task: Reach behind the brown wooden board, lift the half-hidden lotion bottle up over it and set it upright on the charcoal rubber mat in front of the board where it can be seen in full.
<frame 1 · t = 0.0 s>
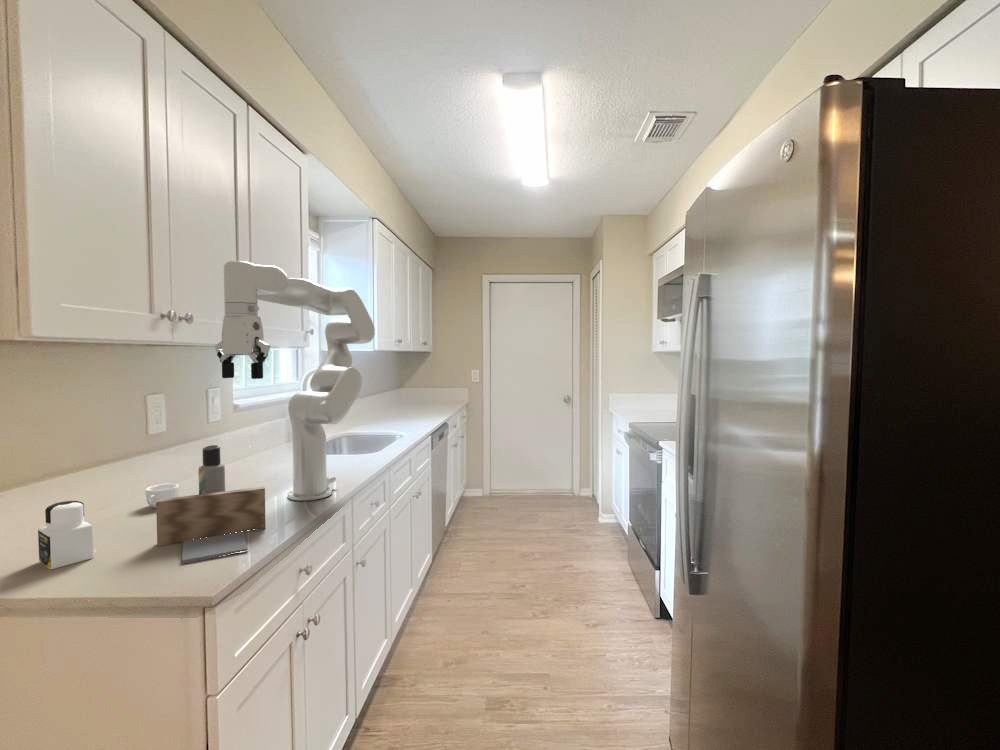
hand: (242, 378, 127), 37 cm above the worktop, tool pointing down, fingers open, 9 cm apart
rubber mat: (215, 548, 110), on the worktop
brown wooden board: (213, 535, 118), on the worktop
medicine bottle: (66, 561, 103), on the worktop
teacup: (160, 507, 139), on the worktop
lotion bottle: (213, 526, 124), on the worktop
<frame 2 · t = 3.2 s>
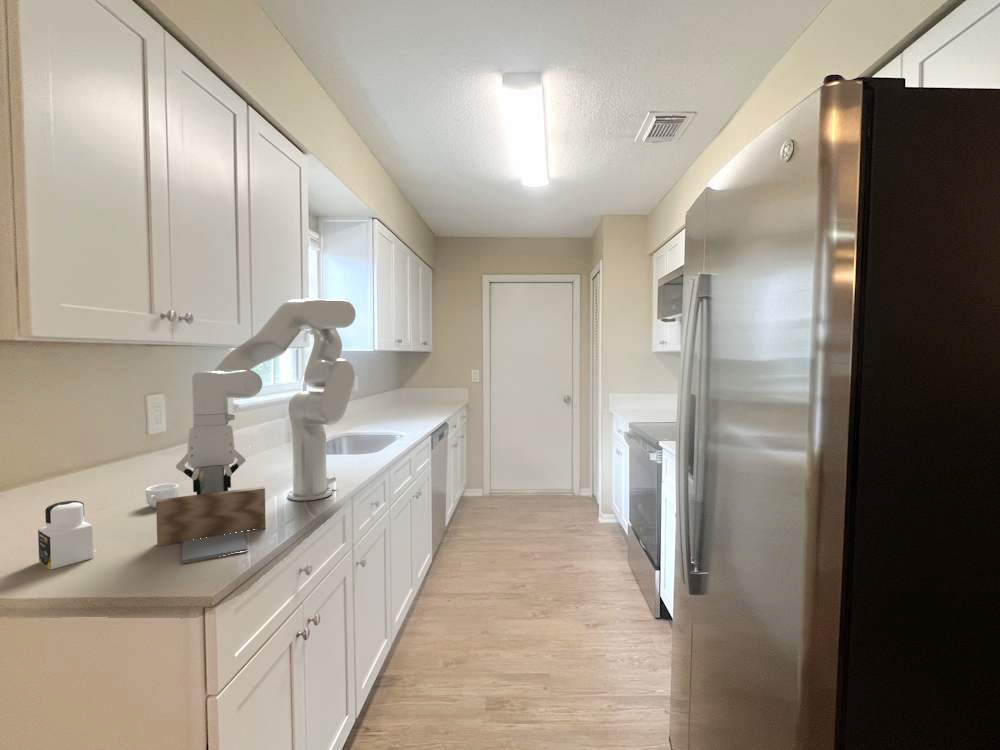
hand: (212, 492, 124), 8 cm above the worktop, tool pointing down, fingers closed on lotion bottle, 5 cm apart
lotion bottle: (213, 526, 124), on the worktop, touching gripper
everything else where it was.
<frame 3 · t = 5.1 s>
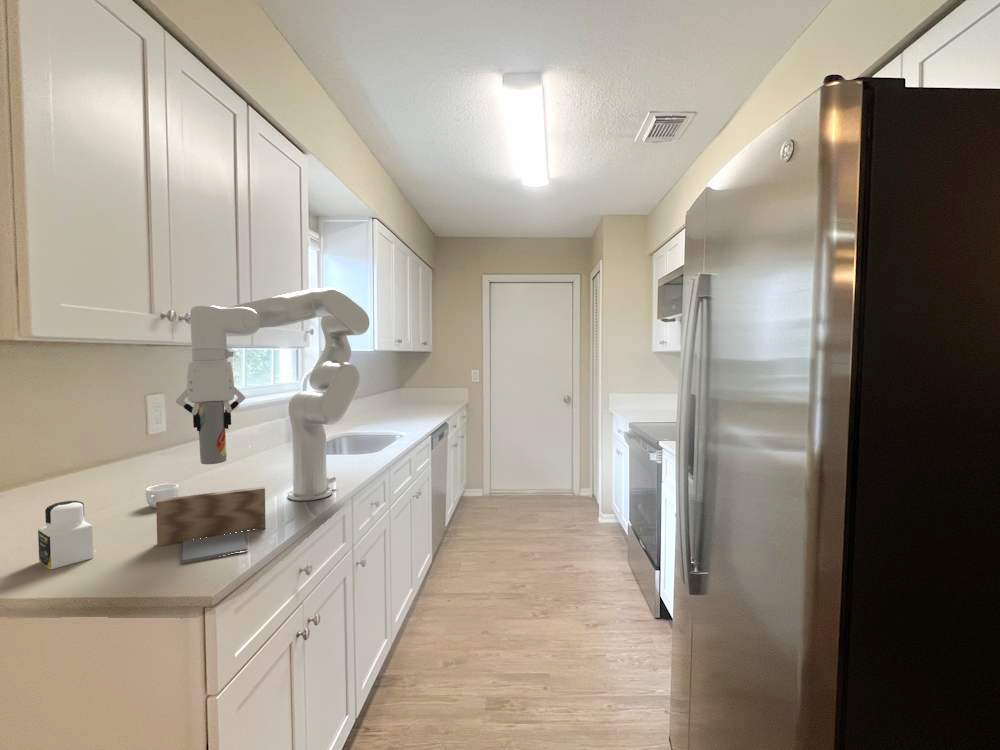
hand: (212, 428, 124), 24 cm above the worktop, tool pointing down, fingers closed on lotion bottle, 5 cm apart
lotion bottle: (213, 462, 124), point 16 cm above the worktop, touching gripper
everything else where it was.
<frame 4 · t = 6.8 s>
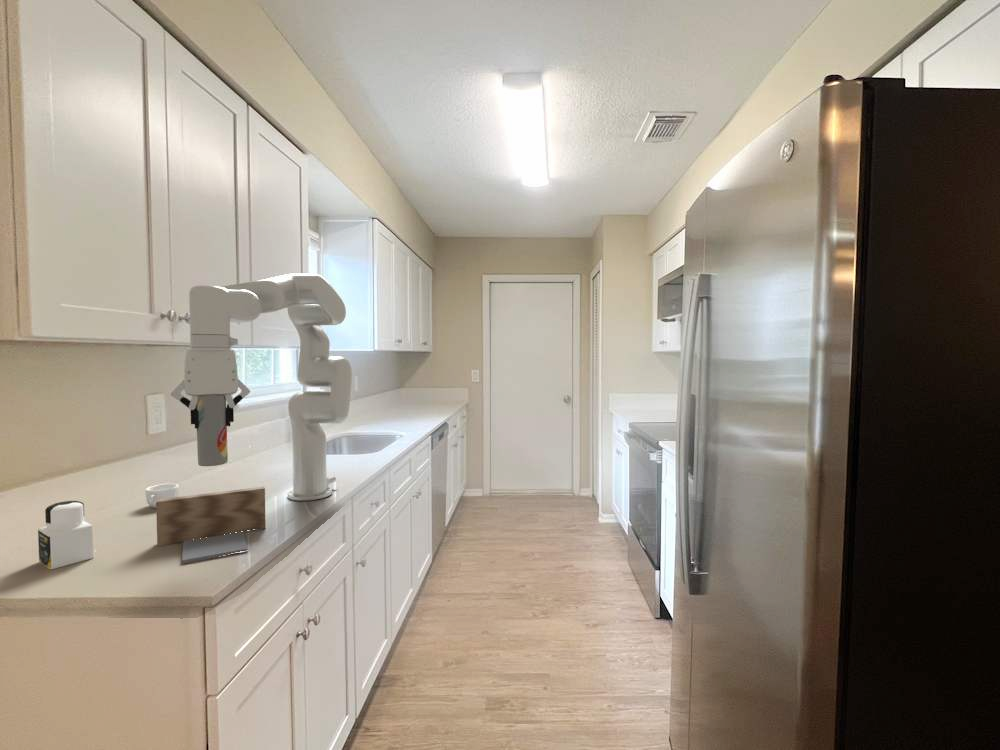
hand: (212, 425, 109), 27 cm above the worktop, tool pointing down, fingers closed on lotion bottle, 5 cm apart
lotion bottle: (213, 464, 109), point 19 cm above the worktop, touching gripper
everything else where it was.
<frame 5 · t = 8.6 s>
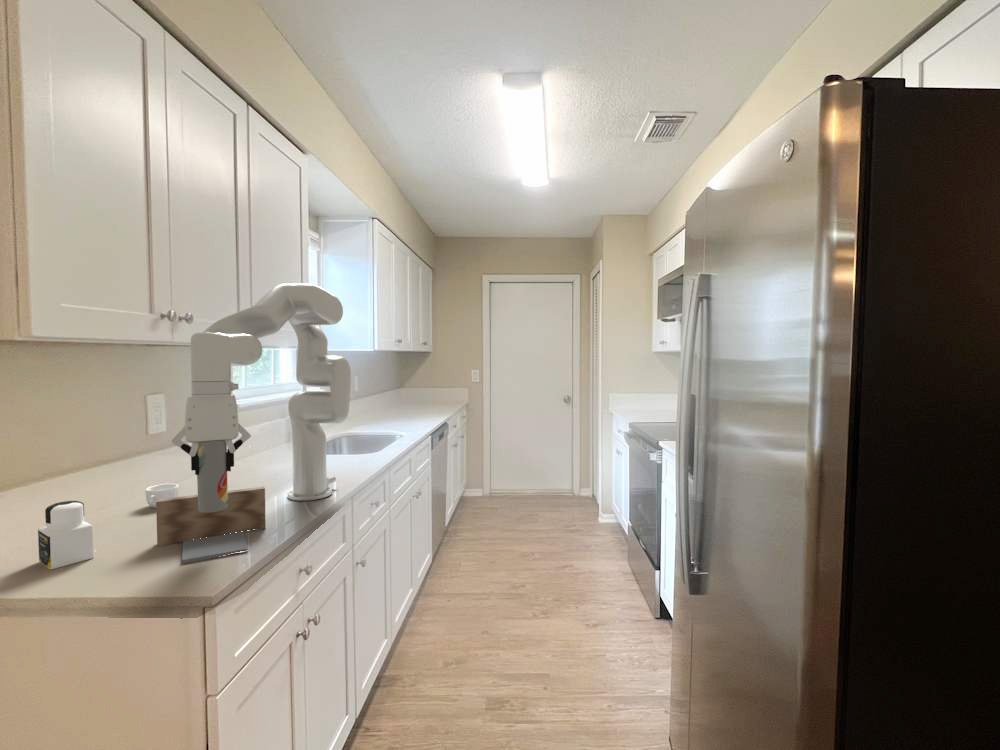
hand: (213, 471, 109), 17 cm above the worktop, tool pointing down, fingers closed on lotion bottle, 5 cm apart
lotion bottle: (213, 509, 109), point 9 cm above the worktop, touching gripper
everything else where it was.
when the fingers open (11 cm above the worktop, at t = 10.3 s): lotion bottle drops 1 cm, resting on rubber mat.
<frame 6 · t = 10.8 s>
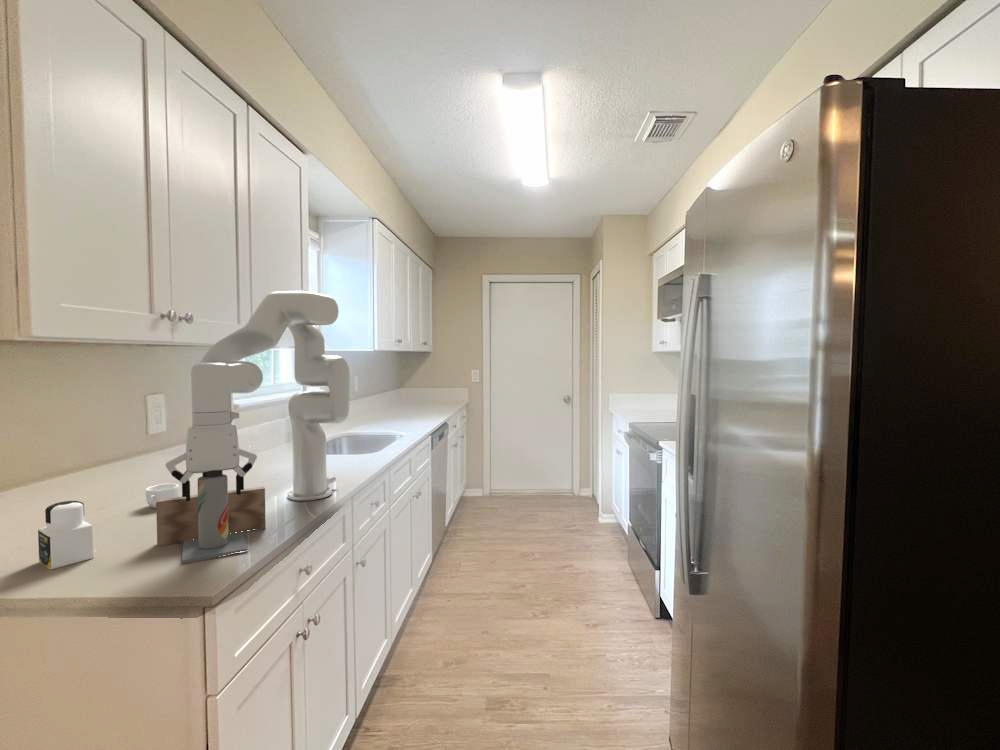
hand: (213, 496, 109), 12 cm above the worktop, tool pointing down, fingers open, 9 cm apart
lotion bottle: (213, 545, 110), point 1 cm above the worktop, touching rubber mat
everything else where it was.
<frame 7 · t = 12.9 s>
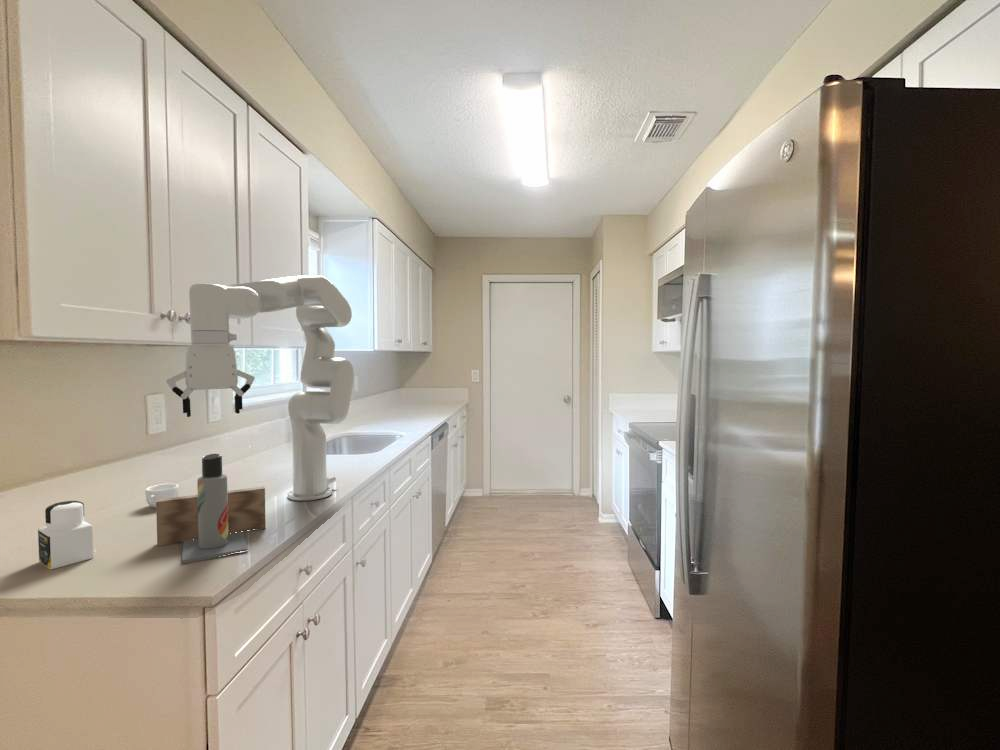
hand: (213, 414, 113), 29 cm above the worktop, tool pointing down, fingers open, 9 cm apart
nothing on the worktop moved.
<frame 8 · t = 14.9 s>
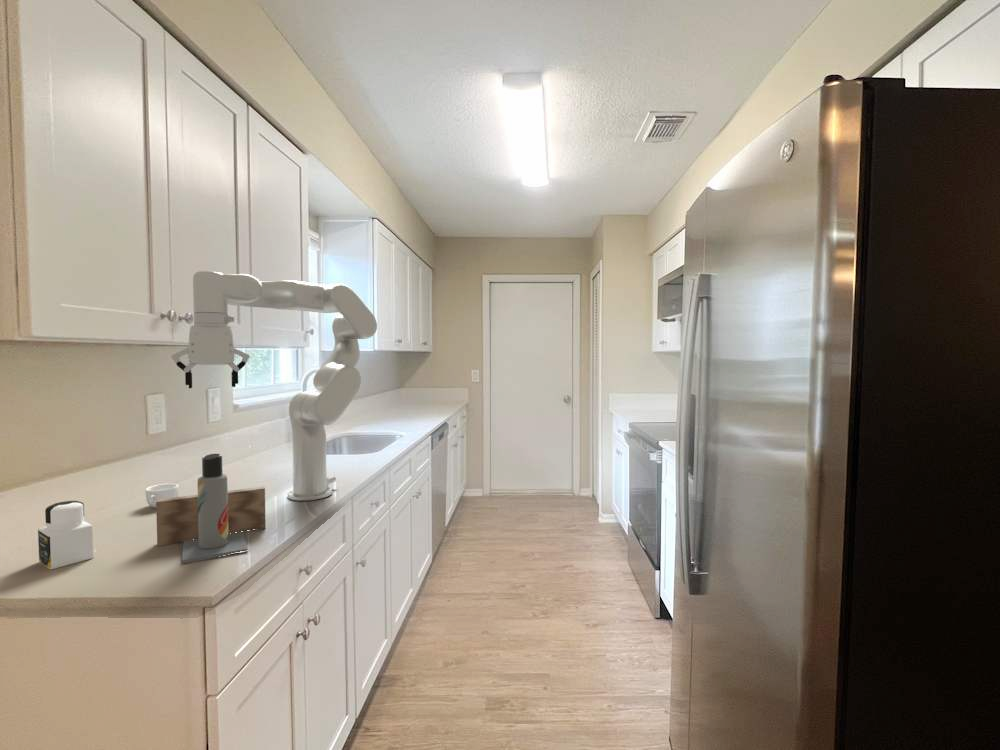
hand: (212, 387, 128), 34 cm above the worktop, tool pointing down, fingers open, 9 cm apart
nothing on the worktop moved.
at the end: lotion bottle inside the target area on the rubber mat (0.3 cm from its centre), point 0.6 cm above the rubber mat's base; lotion bottle tilted 0°; the gripper is holding nothing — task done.
